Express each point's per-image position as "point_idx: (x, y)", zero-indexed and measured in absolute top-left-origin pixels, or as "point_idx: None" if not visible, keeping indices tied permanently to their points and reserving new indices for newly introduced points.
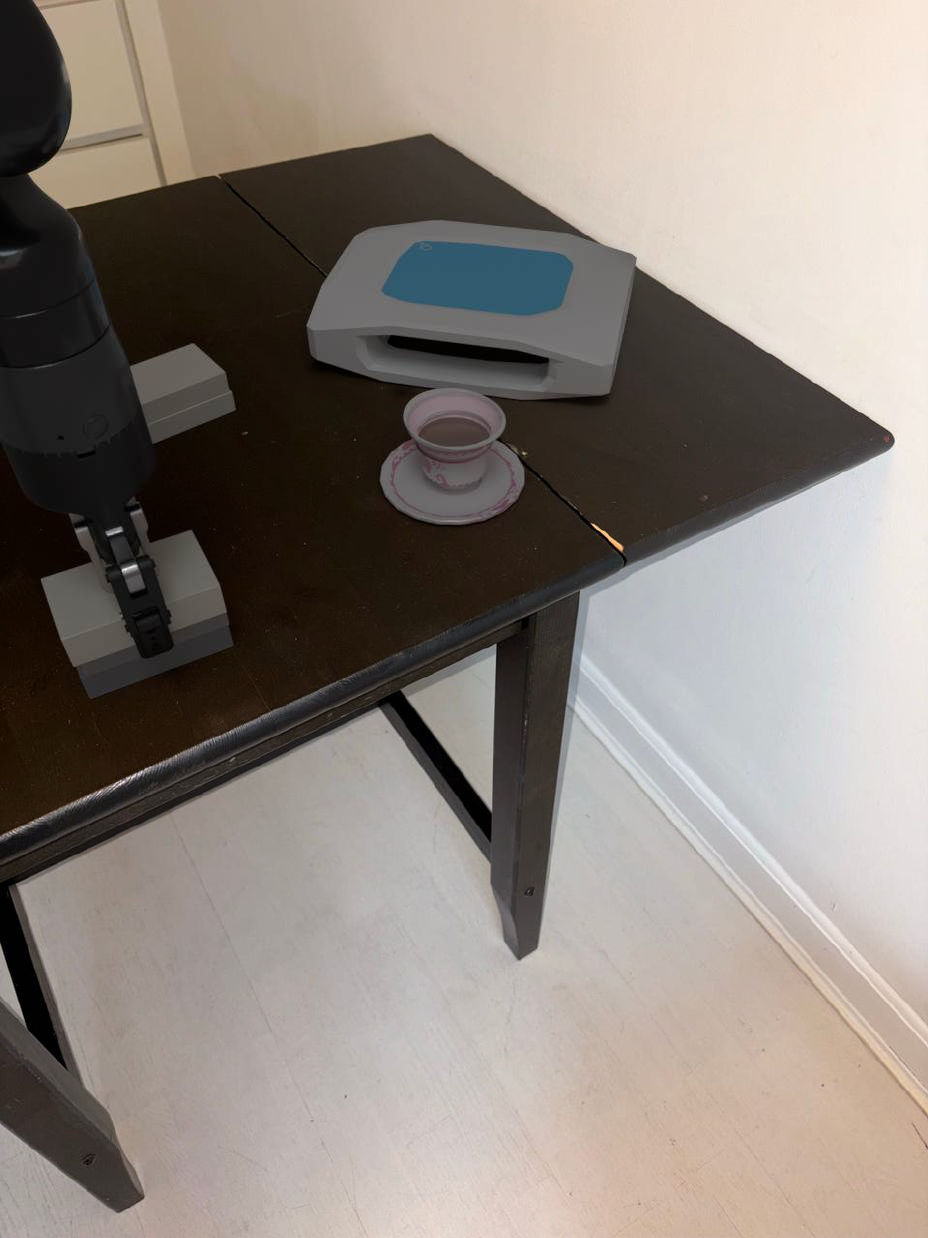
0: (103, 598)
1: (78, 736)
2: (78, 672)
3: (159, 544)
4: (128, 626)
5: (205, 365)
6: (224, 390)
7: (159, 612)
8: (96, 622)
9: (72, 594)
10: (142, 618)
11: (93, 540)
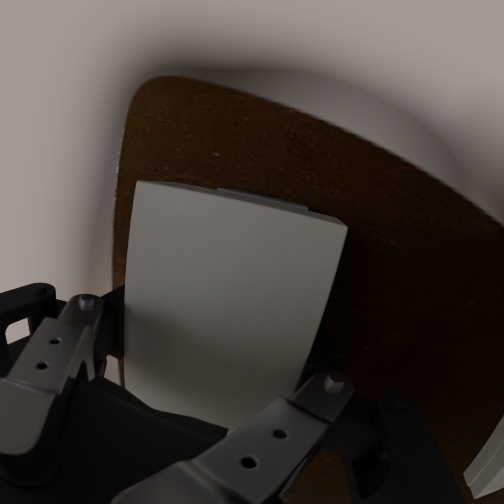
0: (189, 302)
1: (189, 154)
2: (230, 190)
3: None
4: (11, 291)
5: (493, 488)
6: (472, 484)
7: (23, 342)
8: (138, 257)
9: (241, 260)
10: (28, 318)
11: (290, 397)
